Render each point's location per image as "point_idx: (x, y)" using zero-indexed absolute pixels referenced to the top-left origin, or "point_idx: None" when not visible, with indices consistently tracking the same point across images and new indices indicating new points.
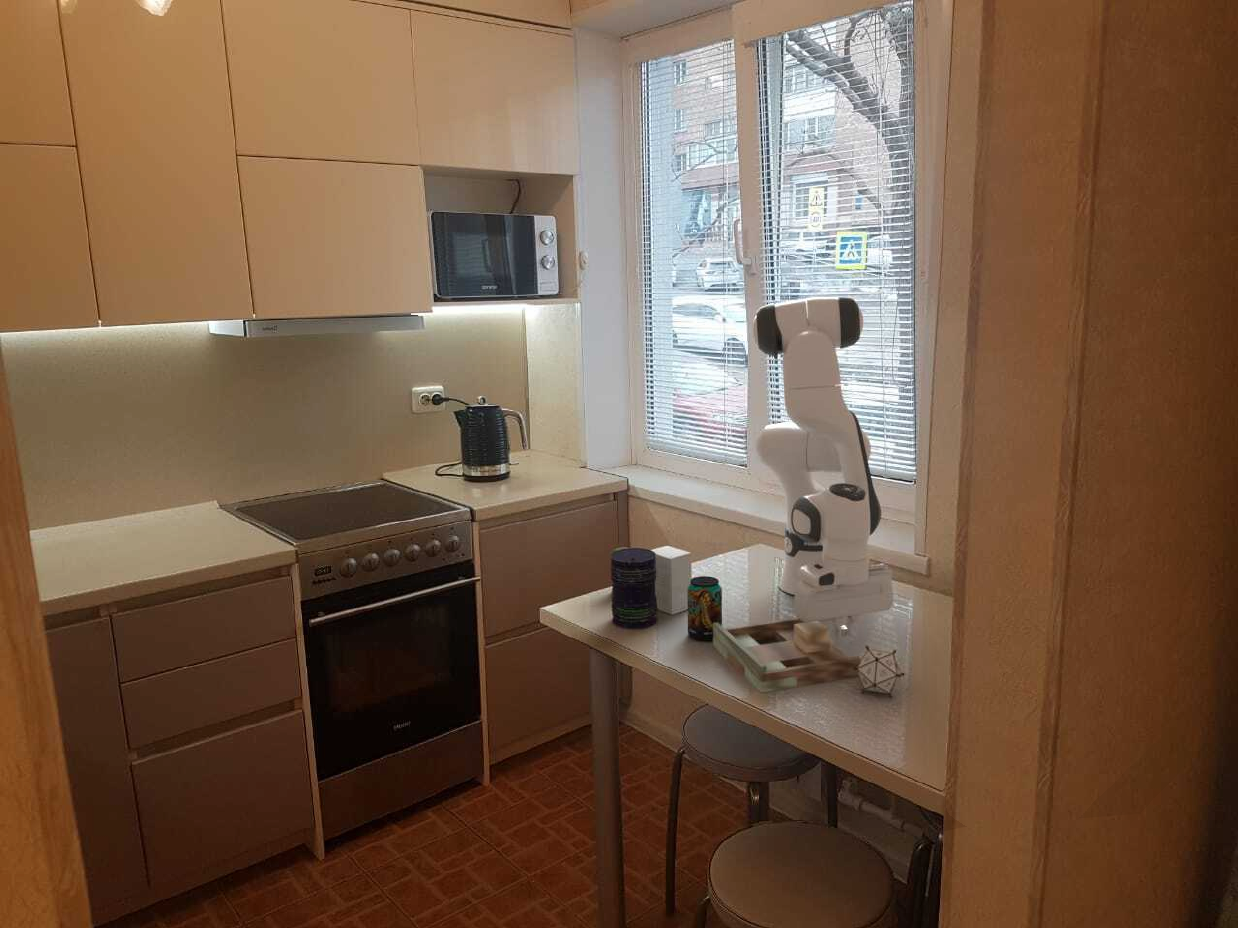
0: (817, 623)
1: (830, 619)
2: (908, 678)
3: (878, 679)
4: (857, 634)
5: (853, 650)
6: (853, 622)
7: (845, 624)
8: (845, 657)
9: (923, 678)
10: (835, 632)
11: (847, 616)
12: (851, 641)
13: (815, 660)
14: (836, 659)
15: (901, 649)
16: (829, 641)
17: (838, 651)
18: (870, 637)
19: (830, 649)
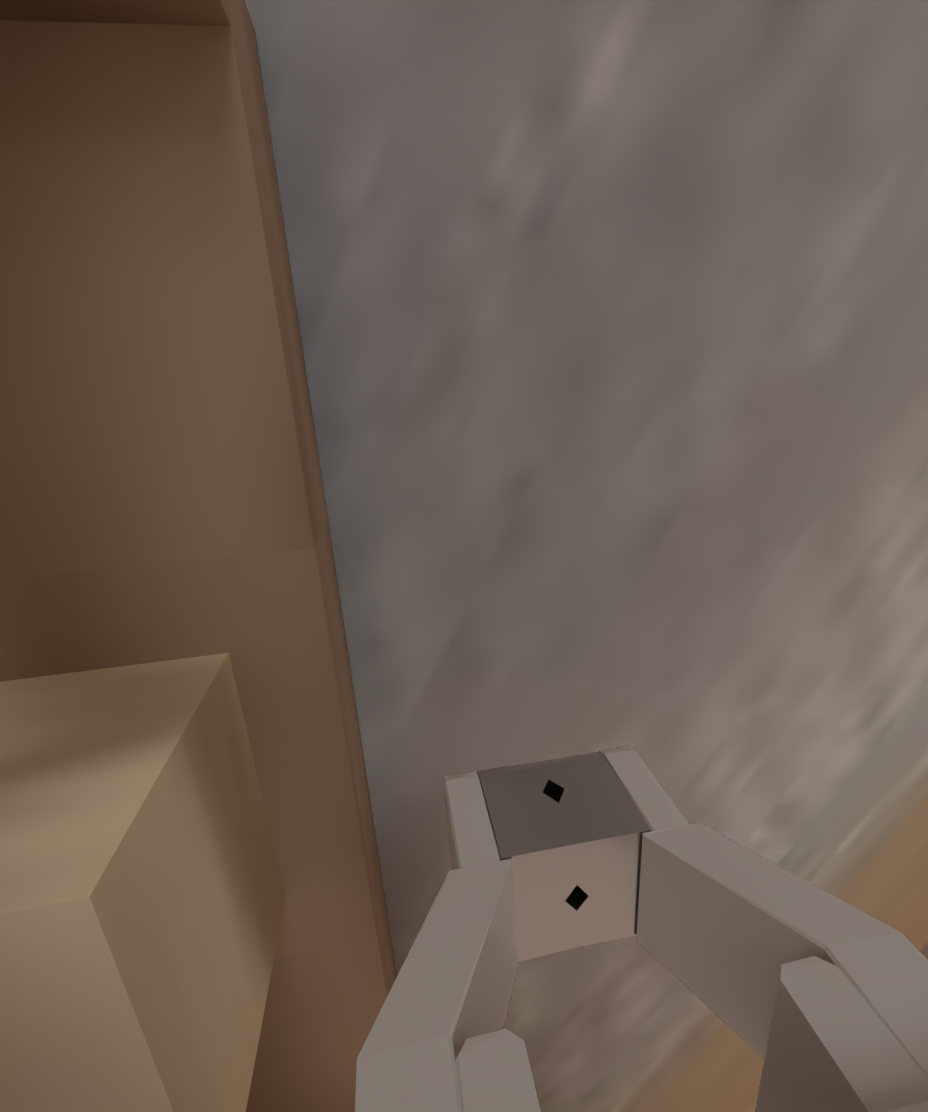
0: (57, 1019)
1: (359, 1096)
2: (660, 1069)
3: None
4: (832, 356)
5: (584, 690)
6: (743, 1035)
7: (653, 850)
8: (363, 1041)
9: (730, 1069)
10: (448, 817)
11: (777, 1013)
12: (678, 506)
13: None
14: (267, 1066)
15: (908, 735)
16: (264, 993)
17: (356, 939)
18: (882, 465)
19: (295, 897)
